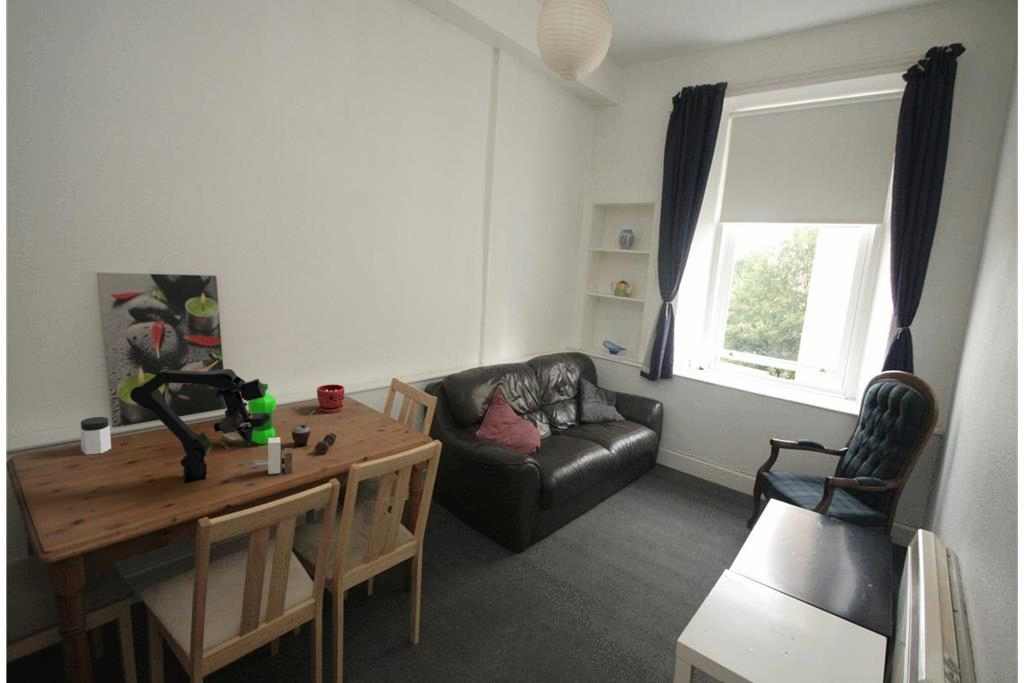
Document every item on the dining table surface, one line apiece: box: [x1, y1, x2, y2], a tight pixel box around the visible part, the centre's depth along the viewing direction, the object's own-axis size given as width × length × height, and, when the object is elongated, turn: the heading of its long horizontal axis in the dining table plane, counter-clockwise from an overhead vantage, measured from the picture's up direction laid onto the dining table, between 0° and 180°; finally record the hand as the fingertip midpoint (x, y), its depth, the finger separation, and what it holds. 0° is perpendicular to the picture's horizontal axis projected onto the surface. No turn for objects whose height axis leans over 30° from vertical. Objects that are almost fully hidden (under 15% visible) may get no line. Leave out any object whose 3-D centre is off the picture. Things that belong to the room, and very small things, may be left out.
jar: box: [79, 416, 112, 456], centre depth 194 cm, size 9×8×12 cm
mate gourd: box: [291, 409, 316, 448], centre depth 215 cm, size 8×8×15 cm
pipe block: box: [276, 447, 293, 475], centre depth 191 cm, size 5×5×8 cm
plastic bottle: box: [247, 383, 277, 445], centre depth 213 cm, size 10×10×25 cm
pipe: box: [249, 457, 285, 468], centre depth 189 cm, size 12×3×3 cm, turn 115°
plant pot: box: [316, 384, 345, 413], centre depth 260 cm, size 13×13×12 cm
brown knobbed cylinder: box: [314, 433, 337, 455], centre depth 216 cm, size 6×5×15 cm
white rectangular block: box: [267, 436, 283, 475], centre depth 190 cm, size 5×5×12 cm
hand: (249, 442), depth 185 cm, fingers closed
